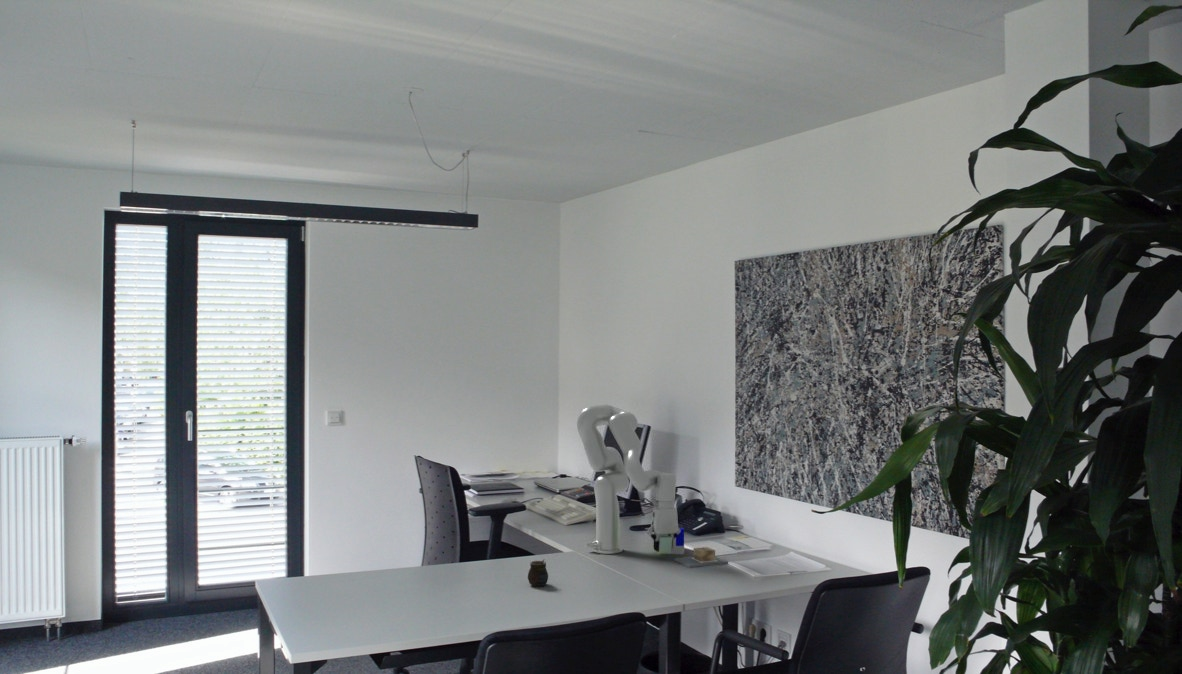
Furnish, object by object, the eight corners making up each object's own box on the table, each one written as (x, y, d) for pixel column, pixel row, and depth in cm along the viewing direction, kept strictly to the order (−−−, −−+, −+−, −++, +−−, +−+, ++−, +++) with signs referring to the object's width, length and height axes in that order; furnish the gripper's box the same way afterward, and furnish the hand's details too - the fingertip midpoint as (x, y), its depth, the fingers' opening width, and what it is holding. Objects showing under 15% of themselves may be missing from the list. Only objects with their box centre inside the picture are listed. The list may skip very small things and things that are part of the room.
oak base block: (701, 561, 338) (701, 551, 338) (694, 558, 344) (694, 548, 344) (715, 560, 340) (715, 550, 341) (707, 557, 346) (707, 546, 346)
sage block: (659, 553, 344) (660, 537, 344) (654, 549, 349) (655, 534, 349) (671, 552, 346) (672, 537, 346) (665, 549, 351) (666, 534, 350)
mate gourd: (538, 581, 314) (539, 553, 314) (553, 585, 308) (553, 557, 308) (523, 584, 308) (524, 556, 309) (537, 589, 303) (538, 560, 303)
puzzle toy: (684, 554, 355) (684, 529, 355) (659, 554, 355) (659, 529, 355) (682, 548, 365) (682, 524, 365) (658, 548, 365) (658, 524, 365)
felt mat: (689, 567, 333) (689, 565, 333) (674, 560, 344) (674, 558, 344) (728, 563, 339) (728, 561, 339) (712, 556, 350) (712, 554, 350)
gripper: (649, 507, 340) (647, 553, 341) (688, 505, 347) (686, 551, 347) (641, 503, 347) (639, 548, 348) (679, 501, 354) (677, 546, 354)
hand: (662, 549), depth 347 cm, fingers closed on sage block, 5 cm apart
